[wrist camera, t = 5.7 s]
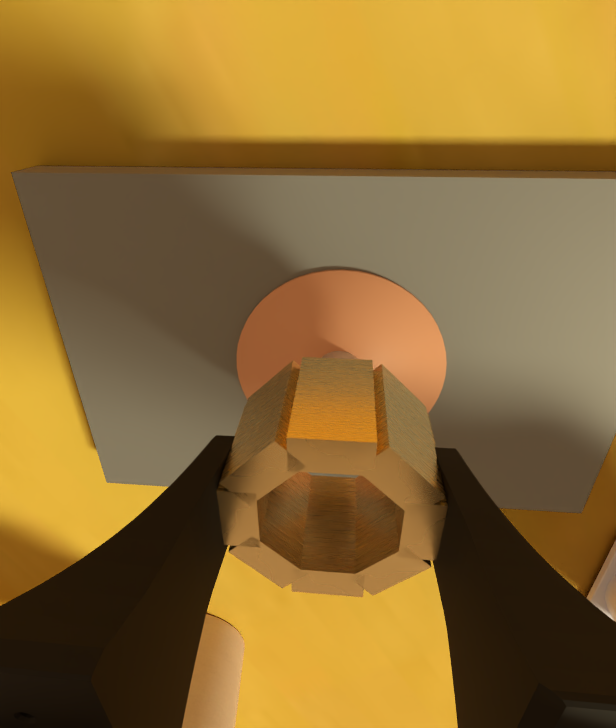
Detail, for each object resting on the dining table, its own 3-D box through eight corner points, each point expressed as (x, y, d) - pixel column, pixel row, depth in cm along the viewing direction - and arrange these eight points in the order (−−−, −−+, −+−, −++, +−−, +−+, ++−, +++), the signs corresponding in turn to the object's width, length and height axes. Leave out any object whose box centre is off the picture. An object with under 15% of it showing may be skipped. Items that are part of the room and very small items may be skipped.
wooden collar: (436, 362, 13) (461, 447, 10) (414, 502, 16) (428, 602, 13) (240, 354, 14) (207, 433, 10) (253, 492, 16) (229, 586, 13)
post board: (692, 172, 15) (869, 217, 10) (568, 488, 22) (632, 610, 17) (37, 165, 17) (-106, 201, 11) (120, 461, 24) (55, 564, 19)
